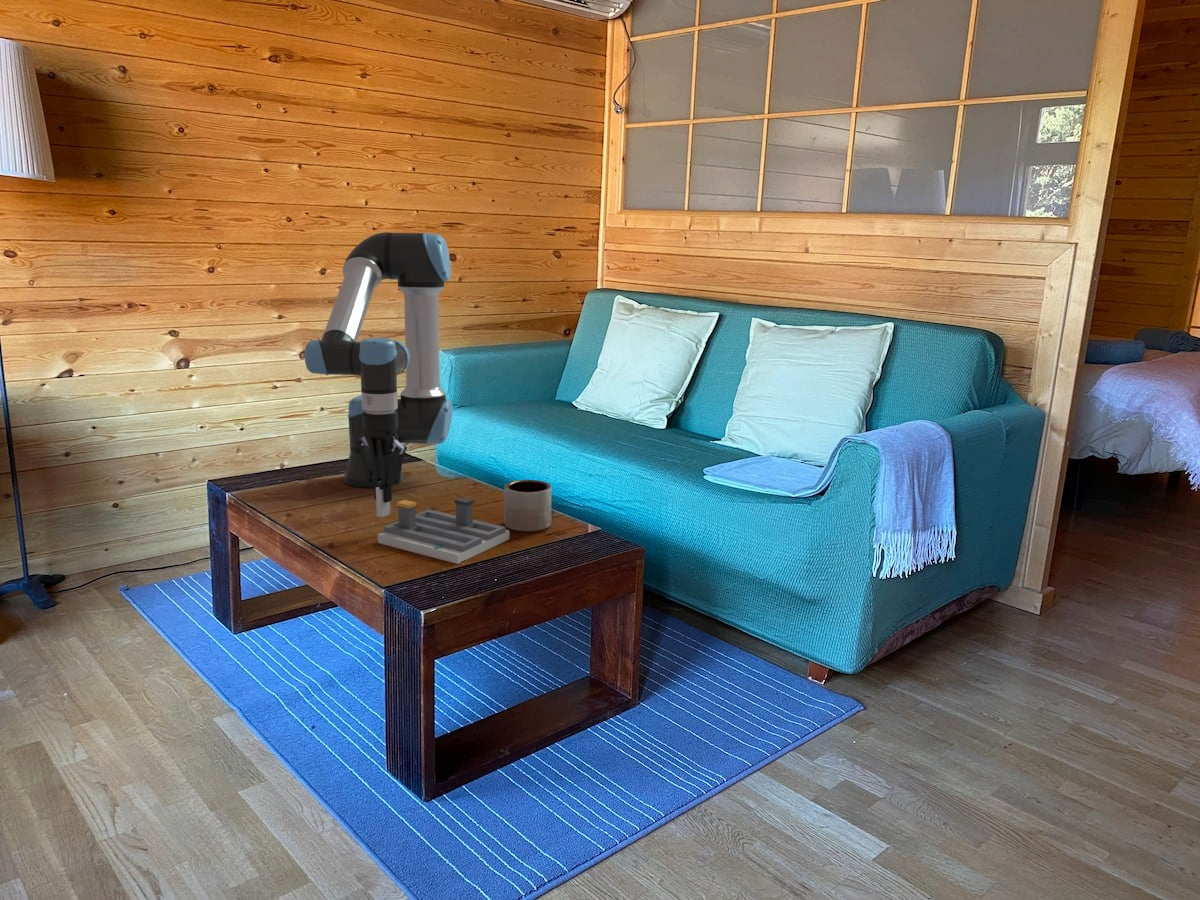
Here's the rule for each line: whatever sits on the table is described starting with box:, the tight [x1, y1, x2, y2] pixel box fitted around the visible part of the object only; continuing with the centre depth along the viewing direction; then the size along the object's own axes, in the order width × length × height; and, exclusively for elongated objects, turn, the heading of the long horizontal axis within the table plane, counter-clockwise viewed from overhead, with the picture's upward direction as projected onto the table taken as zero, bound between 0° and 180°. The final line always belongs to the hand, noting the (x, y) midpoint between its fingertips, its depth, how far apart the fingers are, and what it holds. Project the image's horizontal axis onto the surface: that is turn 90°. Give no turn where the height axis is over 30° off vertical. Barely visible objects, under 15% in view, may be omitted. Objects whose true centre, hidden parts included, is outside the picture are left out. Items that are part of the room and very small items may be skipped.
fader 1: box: [396, 499, 418, 531], centre depth 197 cm, size 2×4×6 cm, turn 60°
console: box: [377, 508, 510, 564], centre depth 198 cm, size 18×22×3 cm
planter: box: [503, 479, 552, 533], centre depth 209 cm, size 11×11×10 cm
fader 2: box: [454, 497, 475, 528], centre depth 200 cm, size 2×4×6 cm, turn 59°
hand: (383, 514), depth 200 cm, fingers closed
